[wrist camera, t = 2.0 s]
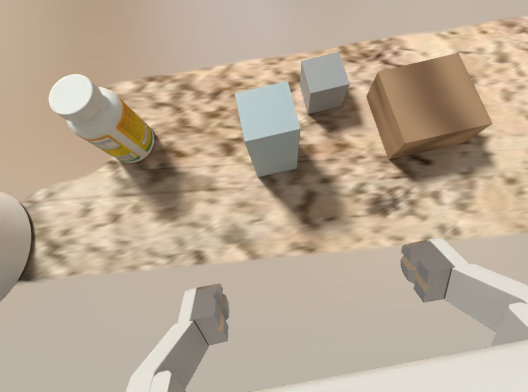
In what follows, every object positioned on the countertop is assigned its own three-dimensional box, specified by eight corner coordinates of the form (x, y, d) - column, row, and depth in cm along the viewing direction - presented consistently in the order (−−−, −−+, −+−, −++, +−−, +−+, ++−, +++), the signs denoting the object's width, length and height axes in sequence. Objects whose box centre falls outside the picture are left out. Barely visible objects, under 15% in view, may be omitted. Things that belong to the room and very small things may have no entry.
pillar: (258, 177, 28) (244, 141, 20) (250, 142, 30) (234, 93, 21) (296, 168, 28) (300, 128, 20) (287, 133, 29) (287, 80, 21)
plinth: (388, 159, 27) (405, 143, 24) (366, 96, 30) (378, 72, 26) (463, 142, 27) (492, 123, 23) (435, 80, 29) (458, 52, 25)
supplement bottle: (130, 173, 30) (59, 134, 21) (105, 143, 31) (28, 95, 22) (165, 142, 31) (111, 92, 21) (139, 115, 32) (78, 56, 23)
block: (307, 114, 30) (310, 93, 26) (299, 85, 31) (301, 61, 27) (341, 106, 30) (349, 84, 26) (332, 78, 31) (338, 52, 27)
